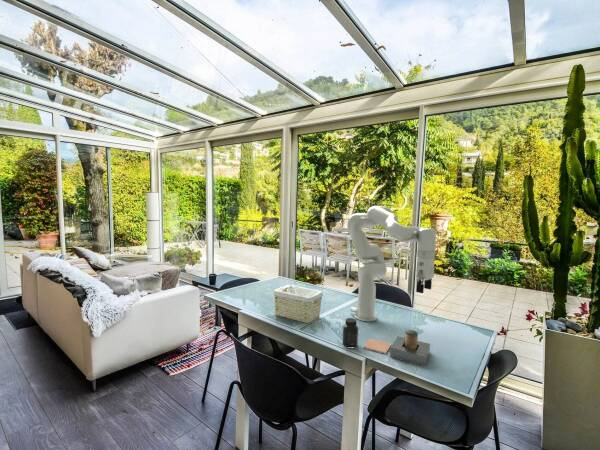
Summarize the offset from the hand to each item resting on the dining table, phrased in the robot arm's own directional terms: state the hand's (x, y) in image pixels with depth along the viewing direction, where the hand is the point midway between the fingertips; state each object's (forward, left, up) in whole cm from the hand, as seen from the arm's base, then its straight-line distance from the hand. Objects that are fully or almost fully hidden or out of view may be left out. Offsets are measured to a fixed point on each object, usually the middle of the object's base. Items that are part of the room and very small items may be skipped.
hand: (423, 290), depth 145 cm
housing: (-2, -16, -25) cm, 30 cm away
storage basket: (-65, -5, -25) cm, 69 cm away
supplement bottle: (-27, -23, -25) cm, 43 cm away
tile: (-16, -17, -25) cm, 34 cm away
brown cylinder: (-2, -16, -25) cm, 30 cm away
